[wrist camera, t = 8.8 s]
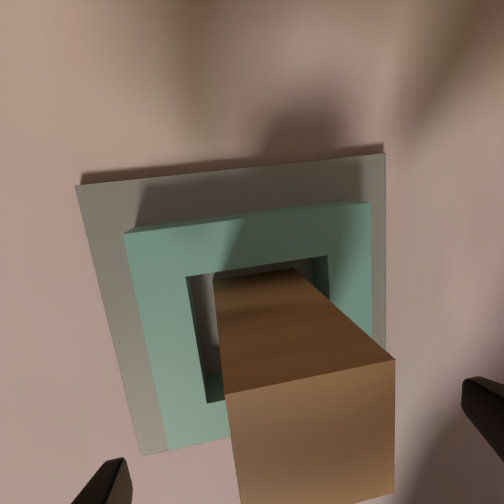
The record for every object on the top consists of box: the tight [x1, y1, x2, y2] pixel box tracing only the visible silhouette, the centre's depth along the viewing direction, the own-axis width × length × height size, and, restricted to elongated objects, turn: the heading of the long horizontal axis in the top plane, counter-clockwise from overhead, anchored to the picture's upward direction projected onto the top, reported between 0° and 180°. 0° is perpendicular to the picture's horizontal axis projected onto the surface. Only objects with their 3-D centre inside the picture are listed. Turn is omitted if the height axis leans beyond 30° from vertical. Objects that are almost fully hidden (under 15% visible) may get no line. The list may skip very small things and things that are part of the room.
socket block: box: [75, 153, 386, 457], centre depth 14 cm, size 14×14×2 cm
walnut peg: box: [212, 268, 395, 504], centre depth 11 cm, size 4×4×8 cm
